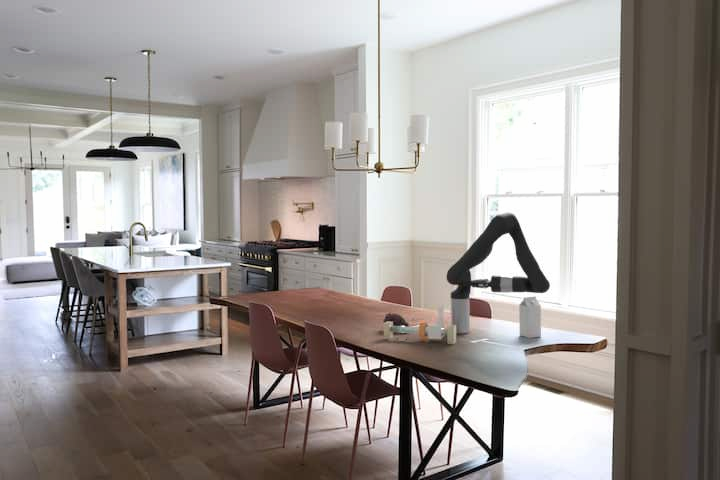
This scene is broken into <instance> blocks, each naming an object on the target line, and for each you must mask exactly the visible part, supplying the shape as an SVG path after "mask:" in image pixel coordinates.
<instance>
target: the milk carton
mask: <svg viewBox="0 0 720 480" xmlns="http://www.w3.org/2000/svg"><path fill="white" fill-rule="evenodd" d="M518 305H519V306H518V307H519V308H518V309H519V311H518V312H519V336H521V337H524V338H527V339H530V338H539V337H541V336H542V318H541V317H542V313H541V312H542V307H541V304H540V302H539V301H538V300H537V296H527V297H526V296H525V297H523V300H522V301H521V303H520V304H518Z"/></svg>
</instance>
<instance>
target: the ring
mask: <svg viewBox="0 0 720 480" xmlns="http://www.w3.org/2000/svg"><path fill="white" fill-rule="evenodd" d="M428 325H429V324H428V322H427V321H421V322H420V323H419V326H418V327H419V334H418V336H419V339H420V340H426V339H428V334H425V328H428Z"/></svg>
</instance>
